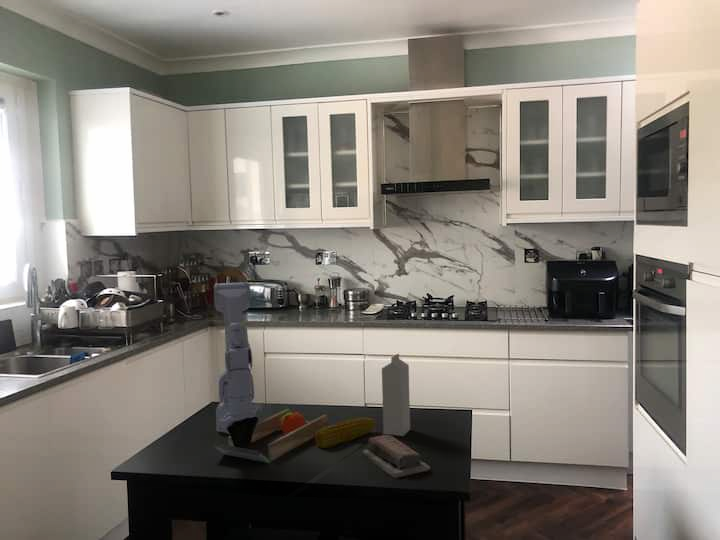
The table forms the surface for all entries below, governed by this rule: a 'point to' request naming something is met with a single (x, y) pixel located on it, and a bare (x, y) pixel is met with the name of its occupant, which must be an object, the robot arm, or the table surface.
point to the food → (343, 431)
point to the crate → (288, 440)
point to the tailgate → (241, 452)
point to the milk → (396, 397)
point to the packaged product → (394, 456)
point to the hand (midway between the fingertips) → (242, 447)
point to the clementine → (291, 422)
